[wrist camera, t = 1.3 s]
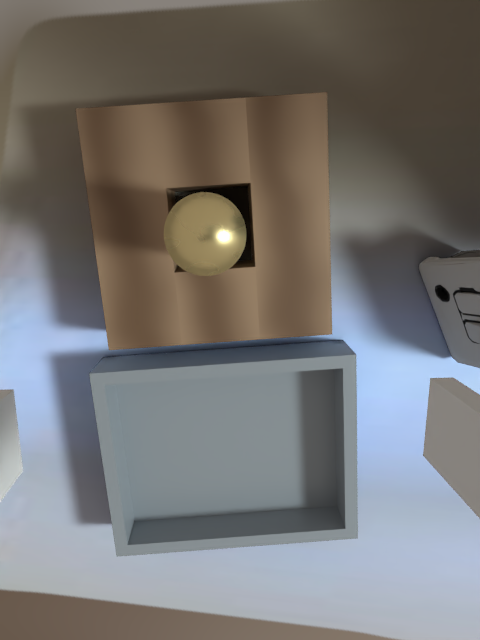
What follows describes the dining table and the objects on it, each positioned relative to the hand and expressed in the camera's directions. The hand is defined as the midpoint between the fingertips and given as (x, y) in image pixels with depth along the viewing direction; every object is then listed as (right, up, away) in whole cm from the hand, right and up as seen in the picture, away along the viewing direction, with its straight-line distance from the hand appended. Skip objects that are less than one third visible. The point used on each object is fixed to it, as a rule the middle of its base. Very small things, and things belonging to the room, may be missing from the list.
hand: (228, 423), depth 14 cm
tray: (0, -7, +25) cm, 26 cm away
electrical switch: (+19, +5, +23) cm, 30 cm away
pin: (-2, +11, +21) cm, 24 cm away
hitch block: (-2, +11, +21) cm, 24 cm away
